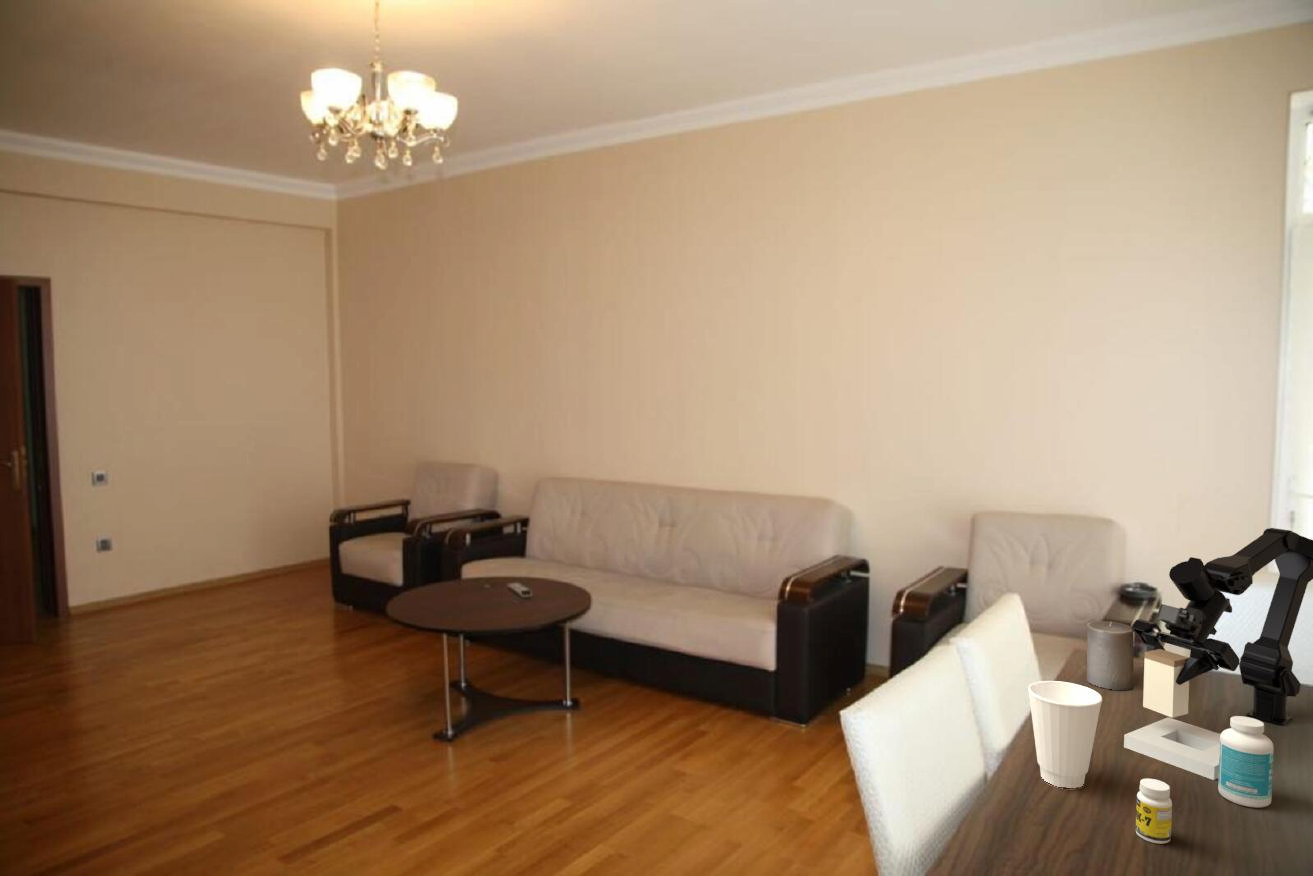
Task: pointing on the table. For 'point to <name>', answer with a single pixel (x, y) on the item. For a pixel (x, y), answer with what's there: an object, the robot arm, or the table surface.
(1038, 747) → the cup
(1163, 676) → the tan topped cream pillar
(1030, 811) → the table surface
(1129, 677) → the pillar candle
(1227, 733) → the pill bottle
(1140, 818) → the supplement bottle
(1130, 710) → the table surface
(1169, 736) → the socket plate
